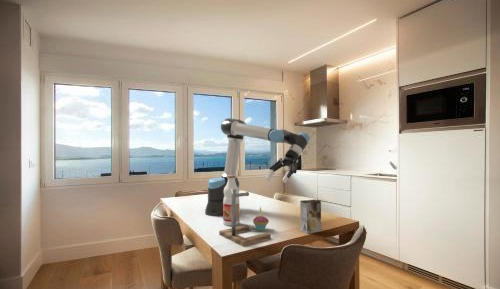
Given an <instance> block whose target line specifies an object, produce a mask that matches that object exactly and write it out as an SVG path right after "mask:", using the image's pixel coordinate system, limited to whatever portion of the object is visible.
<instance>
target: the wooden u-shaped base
mask: <svg viewBox="0 0 500 289" xmlns="http://www.w3.org/2000/svg"><path fill="white" fill-rule="evenodd" d="M248 231H249V232H250V231H251V226H249V225H248V224H244V225H240V226H236V235H235V236H232V227H230V228H227V229H226V228H225V229H221V230H219V231H218V235H219V236H221V237H223V238H225V239H227V240H229V241H231V242H233V243H235V244H236V245H239V246H240V247H244V246H248V244H249V245H251V244H255V243H260V242H263V241H267V240H270V239H272V238H271V236H272V235H271V233H268V232H263V233H258V234H255V235H251V236H247V237H246V236H245V237H244V236H241V235H240V233H244V232H248Z"/></svg>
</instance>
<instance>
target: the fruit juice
mask: <svg viewBox="0 0 500 289" xmlns="http://www.w3.org/2000/svg"><path fill="white" fill-rule="evenodd" d="M227 178H228V182H227V185H226V186H225V188H224V199H223V215H222V219H223V222H222V224H223V225H225V226H229V227H230V226H231V227H232V189H236V194H237V193H240V187H239V188H238V187H237V185H236V182H235V178H236V176H235V175H228V176H227ZM239 224H240V197H236V226H238V225H239Z"/></svg>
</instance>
